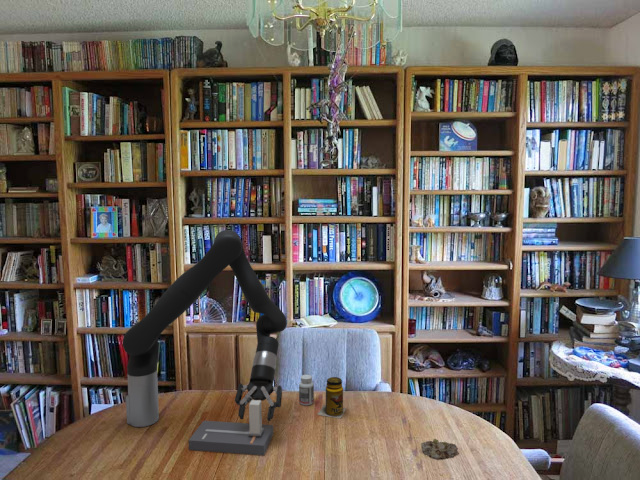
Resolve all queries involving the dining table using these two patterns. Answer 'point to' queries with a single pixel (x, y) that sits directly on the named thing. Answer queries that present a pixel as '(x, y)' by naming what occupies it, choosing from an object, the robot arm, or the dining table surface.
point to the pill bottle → (306, 390)
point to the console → (230, 438)
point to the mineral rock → (439, 449)
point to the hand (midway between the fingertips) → (255, 419)
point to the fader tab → (255, 418)
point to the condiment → (333, 399)
